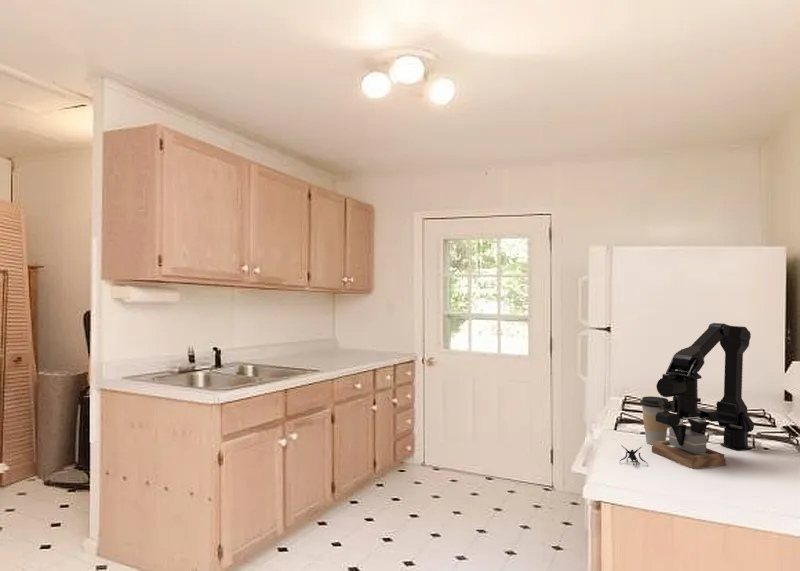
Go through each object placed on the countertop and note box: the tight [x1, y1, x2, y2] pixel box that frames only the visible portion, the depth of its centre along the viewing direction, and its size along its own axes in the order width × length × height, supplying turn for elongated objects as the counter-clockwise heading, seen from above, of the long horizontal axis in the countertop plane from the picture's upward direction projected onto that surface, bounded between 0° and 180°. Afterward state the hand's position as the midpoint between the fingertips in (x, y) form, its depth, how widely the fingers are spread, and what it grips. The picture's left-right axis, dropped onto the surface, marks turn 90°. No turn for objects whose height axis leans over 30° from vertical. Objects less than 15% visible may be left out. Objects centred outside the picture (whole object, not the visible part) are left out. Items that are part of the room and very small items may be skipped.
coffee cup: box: [639, 395, 669, 446], centre depth 182 cm, size 9×9×15 cm
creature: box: [619, 444, 649, 468], centre depth 161 cm, size 8×5×8 cm
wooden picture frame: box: [651, 440, 727, 470], centre depth 166 cm, size 12×16×3 cm
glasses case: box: [668, 427, 707, 454], centre depth 166 cm, size 4×10×5 cm, turn 15°
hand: (687, 444), depth 166 cm, fingers closed on glasses case, 4 cm apart
